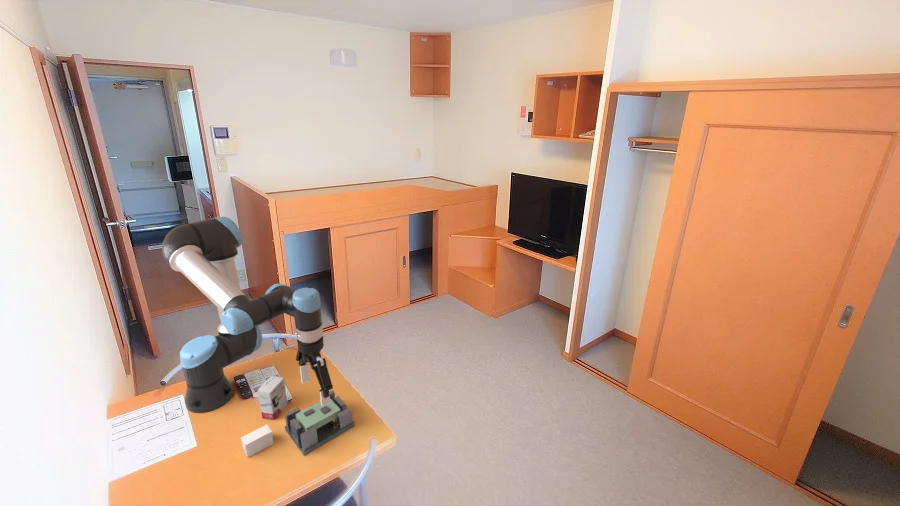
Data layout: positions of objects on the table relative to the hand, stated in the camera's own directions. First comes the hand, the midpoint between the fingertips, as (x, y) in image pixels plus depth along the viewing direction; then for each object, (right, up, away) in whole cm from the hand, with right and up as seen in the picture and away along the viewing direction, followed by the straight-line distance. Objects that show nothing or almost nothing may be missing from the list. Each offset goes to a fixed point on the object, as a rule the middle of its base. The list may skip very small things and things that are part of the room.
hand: (315, 392), depth 130 cm
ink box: (-18, -11, +12) cm, 24 cm away
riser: (-17, -16, -3) cm, 24 cm away
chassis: (0, -14, +5) cm, 15 cm away
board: (0, -10, +4) cm, 10 cm away
